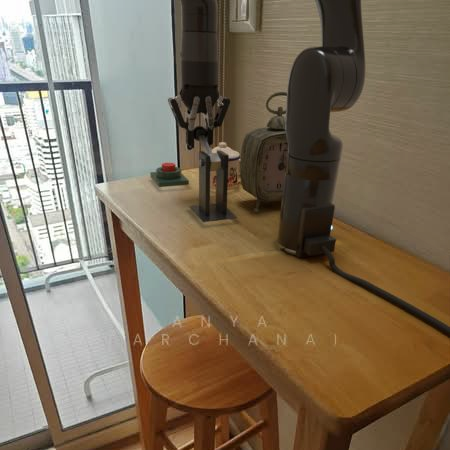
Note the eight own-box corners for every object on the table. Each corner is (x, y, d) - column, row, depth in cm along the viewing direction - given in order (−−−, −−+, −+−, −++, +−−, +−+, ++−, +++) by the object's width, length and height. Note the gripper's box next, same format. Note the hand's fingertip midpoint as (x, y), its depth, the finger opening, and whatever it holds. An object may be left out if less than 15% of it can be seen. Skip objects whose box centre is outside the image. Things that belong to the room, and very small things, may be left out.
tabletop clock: (251, 218, 91) (260, 94, 78) (234, 205, 98) (239, 89, 85) (306, 211, 97) (322, 93, 83) (286, 199, 104) (298, 89, 90)
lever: (189, 135, 92) (191, 122, 89) (203, 135, 93) (205, 122, 90) (207, 173, 85) (209, 160, 83) (221, 172, 86) (224, 159, 84)
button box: (188, 188, 108) (188, 173, 106) (159, 191, 106) (158, 175, 104) (178, 178, 116) (178, 163, 114) (150, 180, 114) (149, 165, 111)
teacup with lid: (211, 195, 104) (212, 147, 98) (200, 184, 112) (200, 139, 105) (253, 191, 108) (257, 145, 102) (240, 181, 115) (242, 138, 109)
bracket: (188, 210, 94) (187, 148, 87) (221, 207, 97) (222, 146, 90) (203, 226, 87) (203, 160, 79) (237, 222, 89) (240, 157, 82)
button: (177, 172, 108) (177, 165, 107) (163, 173, 107) (163, 166, 106) (173, 168, 111) (173, 162, 110) (160, 169, 110) (160, 163, 109)
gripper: (170, 58, 77) (173, 153, 87) (238, 60, 82) (234, 149, 91) (160, 57, 83) (164, 145, 93) (225, 58, 88) (222, 142, 97)
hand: (199, 146), depth 92 cm, fingers closed on lever, 3 cm apart
